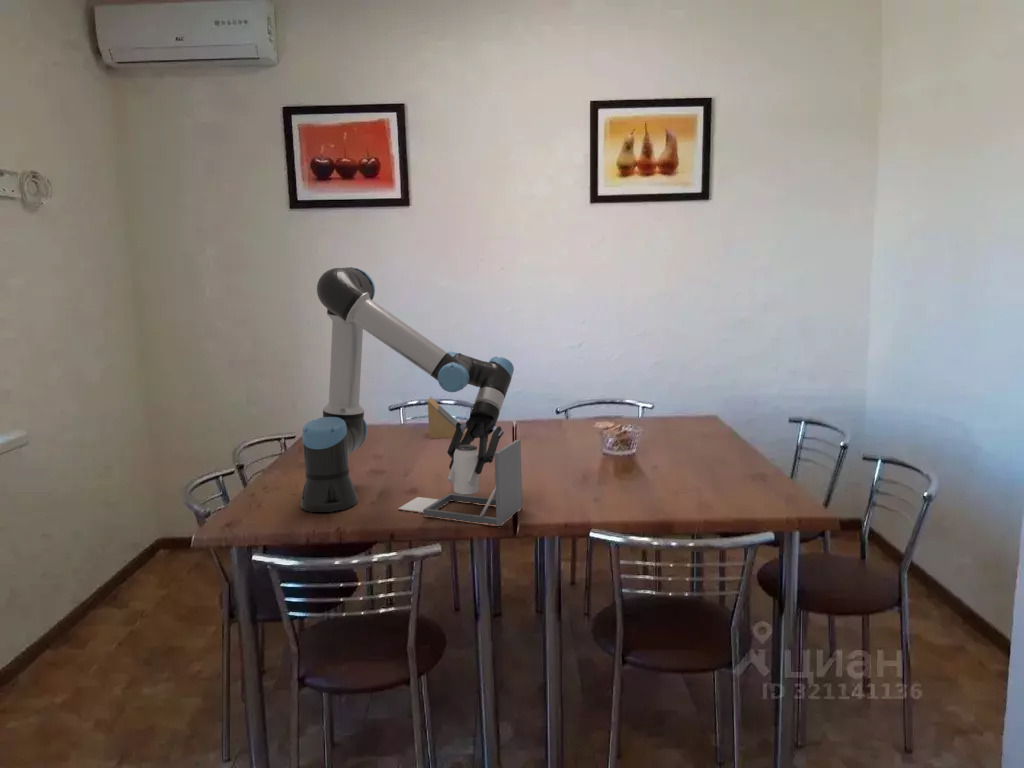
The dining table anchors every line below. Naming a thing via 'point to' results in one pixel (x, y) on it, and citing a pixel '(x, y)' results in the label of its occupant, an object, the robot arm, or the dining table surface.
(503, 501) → the grey frame and panel
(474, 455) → the can
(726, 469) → the dining table surface
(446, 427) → the sandwich container
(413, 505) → the pad
